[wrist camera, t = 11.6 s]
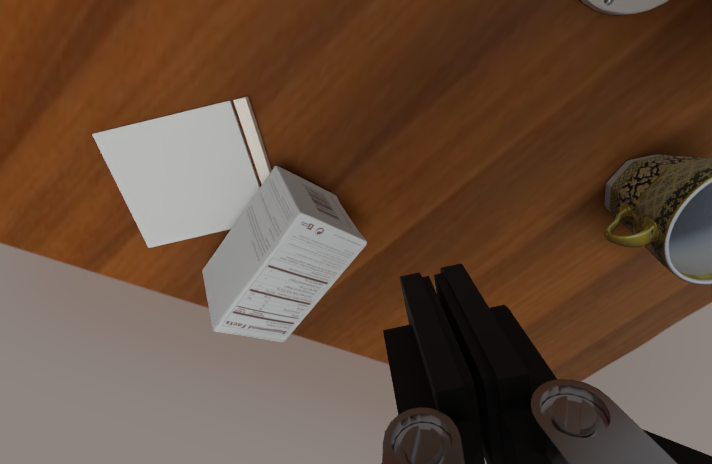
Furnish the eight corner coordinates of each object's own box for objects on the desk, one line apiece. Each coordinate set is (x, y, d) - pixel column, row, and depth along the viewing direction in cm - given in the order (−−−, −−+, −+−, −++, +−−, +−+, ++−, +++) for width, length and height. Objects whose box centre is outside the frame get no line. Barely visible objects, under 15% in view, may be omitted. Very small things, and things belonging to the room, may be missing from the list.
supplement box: (338, 195, 37) (265, 287, 41) (274, 162, 32) (198, 270, 36) (371, 244, 32) (285, 344, 36) (301, 214, 27) (209, 333, 31)
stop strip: (248, 96, 33) (245, 97, 32) (286, 214, 38) (284, 219, 36) (236, 98, 33) (233, 100, 32) (275, 217, 38) (274, 221, 36)
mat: (230, 100, 33) (229, 100, 33) (270, 218, 38) (270, 219, 37) (94, 133, 33) (92, 134, 33) (150, 246, 38) (148, 248, 38)
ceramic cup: (695, 126, 37) (817, 150, 27) (680, 223, 41) (781, 271, 32) (557, 155, 37) (632, 187, 28) (555, 248, 41) (620, 303, 32)
